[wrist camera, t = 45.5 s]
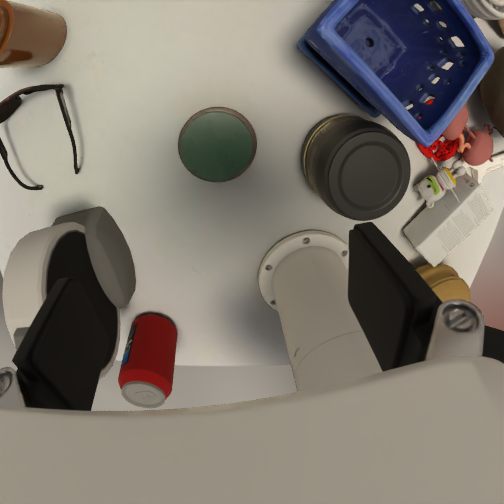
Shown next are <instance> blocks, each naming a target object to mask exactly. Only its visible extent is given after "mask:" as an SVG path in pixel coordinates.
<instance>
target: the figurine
mask: <svg viewBox="0 0 504 504" xmlns="http://www.w3.org/2000/svg"><path fill="white" fill-rule="evenodd" d="M467 120H468V111H467V107H466V105H465V104H464V106H463V107H462V109H461V110H460V111H459V113H458V114H457V115H456V116H455V118H454V119H453V120H452V122H451V123H450V124H449V125H448V127H447V128H446V129H445V130H444V131H443V133H442V136H443V137H445V138H446V139H448V140H455V139H456V138H459V147H458V149H457V151H458V152H459V153H462V157H463V159H464V161H465V162H466V163H467V164H469V165H471V166H479V165H481V164H483V163H485V162H486V161H487V160H488V159H489V161H490V162H493V159H492V158H491V154H492V152H493V141H492V138H491V135H492V133H493V129H489V127H490V125H489V124H484V126H486V128H485V131H482V130H476V131H473V132H471V131H470V129H469V128H468V127H467V125H466V123H467ZM463 129H465V130H466V131H468V133H469V136H468V139H467V141H466V142H465V143H464V136H463V134H462V131H463ZM488 131H489V132H490V133H489V134H488V133H487V132H488Z"/></svg>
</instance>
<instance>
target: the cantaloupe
mask: <svg viewBox="0 0 504 504" xmlns="http://www.w3.org/2000/svg"><path fill="white" fill-rule="evenodd" d="M480 92H481V99H482V102H483V104H484V107H485V109H486V111H487V113H488V115H489V117H490V120H491V122H492V123H493V125H494V126H495V127H496V128H497V129H499V130H500V131H501V132H502V134H501V133H500V132H499V131H498V132H499V133H500V134H501V135H502V136H503V137H504V47H502V48H501V49H499V50H498V51H497V52H495V53H494V61H493V63H492V65H491V66H490V68H489V69H488V71H487V73H486V74H485V75H484V77H483V78H482V80H481V85H480Z"/></svg>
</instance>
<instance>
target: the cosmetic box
mask: <svg viewBox="0 0 504 504" xmlns="http://www.w3.org/2000/svg"><path fill="white" fill-rule="evenodd" d="M455 179H456V187H453V188H452V189H453V191H454V193H455V194H456V196H457V198H458V200H459V202H458V201H457V199H456V198H455V196H454V194H453V192H452V191H451V190H450V189H448V190H446V193H445V195H444V196H443V197H442V198H441V199H439V200H437V201H435V202H434V206H433V207H432V208H428V207H426V208H425V209H424V210H423V211H421V213H420V214H418V216H417V217H415V218H414V219H413V220H412V221H411V222H410V223H409V224H408V225H407V226H406V227H405V228H404V229H403V232H404V233H405V235H406V236H407V238H408V239H409V240H410V242H411V243H412V245H413V246H414V247H415V249H416V250H418V251H419V252H420V253H421V254H422V256H423V257H424V258H425V259H426V260H427V261H428V262H429V263H430V264H431V265H432V266H433V267H435V266H437V265H438V264H439V263H440V262H441V261H442V260H443V259H444V258H445V257H446V256H447V255H448V254H450V253H451V252H452V251H453V250H454V249H455V248H456V247H457V246H458V245H459V244H460V243H461V242H462V241H463V240H464V239H465V238H466V237H467V236H468V235H469V234H470V233H471V232H472V231H473V230H474V229H475V228H476V227H477V226H478V225H479V224H480V223H481V222H482V221H483V220H484V219H485V218H486V217H487V216H488V215H489V214H490V213H491V212H492V210H493V208H492V206H491V204H490V202H489V201H488V199H487V197H486V195H485V193H484V191H483V189H482V188H481V186H480V184H479V183H478V182H477V181H475V180H474V179H473V178H472V177H471V176H469V175H468V174H467V173H465V174H464V175H462V176H457V177H456V178H455Z"/></svg>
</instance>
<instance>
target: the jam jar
mask: <svg viewBox="0 0 504 504" xmlns="http://www.w3.org/2000/svg"><path fill="white" fill-rule="evenodd" d="M66 32H67V30H66V24H65V21H64V19H63V18H62V17H61V16H60V15H58V14H56V13H53V12H49V11H46V10H43V9H39V8H36V7H32V6H28V5H25V4H21V3H17V2H12V1H8V0H0V69H1V68H17V67H39V66H43V65H45V64H47V63H49V62H50V61H51V60H53V59H54V58H55V57H56V56H57V54H58V53H59V52H60V50H61V48H62V46H63V44H64V42H65V39H66Z"/></svg>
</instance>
